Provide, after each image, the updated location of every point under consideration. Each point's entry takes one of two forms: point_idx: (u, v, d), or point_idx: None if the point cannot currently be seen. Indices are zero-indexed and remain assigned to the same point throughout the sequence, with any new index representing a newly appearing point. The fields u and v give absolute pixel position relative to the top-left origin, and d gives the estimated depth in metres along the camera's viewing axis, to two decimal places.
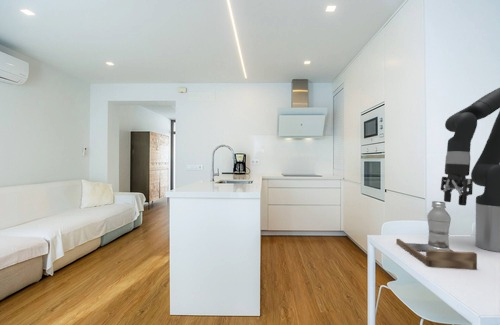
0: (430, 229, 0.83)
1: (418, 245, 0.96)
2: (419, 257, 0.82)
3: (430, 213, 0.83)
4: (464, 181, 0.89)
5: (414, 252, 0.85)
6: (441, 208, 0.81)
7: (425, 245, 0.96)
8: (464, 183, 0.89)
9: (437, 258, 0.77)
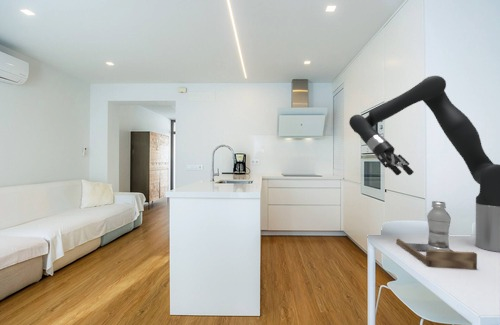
0: (430, 229, 0.83)
1: (418, 245, 0.96)
2: (419, 257, 0.82)
3: (430, 213, 0.83)
4: None
5: (414, 252, 0.85)
6: (441, 208, 0.81)
7: (425, 245, 0.96)
8: None
9: (437, 258, 0.77)
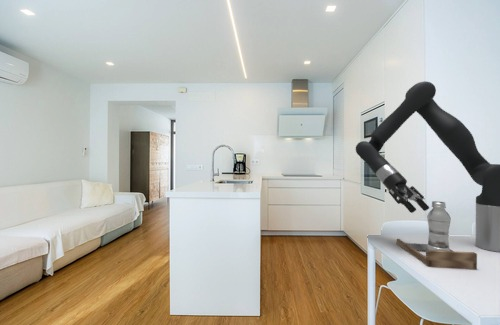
0: (430, 229, 0.83)
1: (418, 245, 0.96)
2: (419, 257, 0.82)
3: (430, 213, 0.83)
4: None
5: (414, 252, 0.85)
6: (441, 208, 0.81)
7: (425, 245, 0.96)
8: None
9: (437, 258, 0.77)
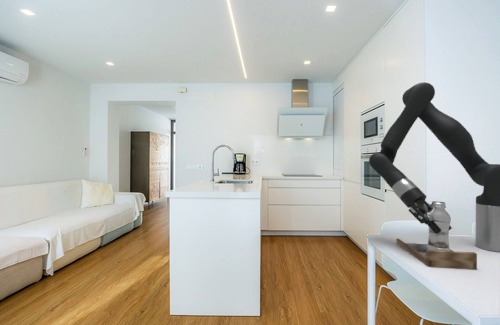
0: (430, 229, 0.83)
1: (418, 245, 0.96)
2: (419, 257, 0.82)
3: (430, 213, 0.83)
4: None
5: (414, 252, 0.85)
6: (441, 208, 0.81)
7: (425, 245, 0.96)
8: None
9: (437, 258, 0.77)
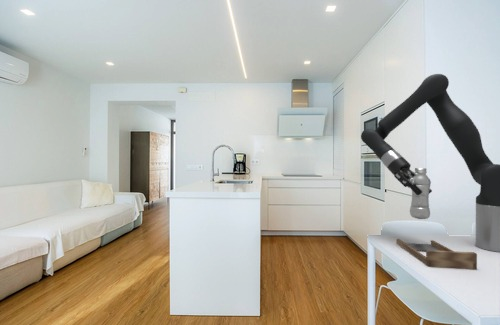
0: (413, 192, 0.94)
1: (418, 245, 0.96)
2: (419, 257, 0.82)
3: (413, 178, 0.94)
4: None
5: (414, 252, 0.85)
6: (422, 173, 0.92)
7: (425, 245, 0.96)
8: None
9: (437, 258, 0.77)
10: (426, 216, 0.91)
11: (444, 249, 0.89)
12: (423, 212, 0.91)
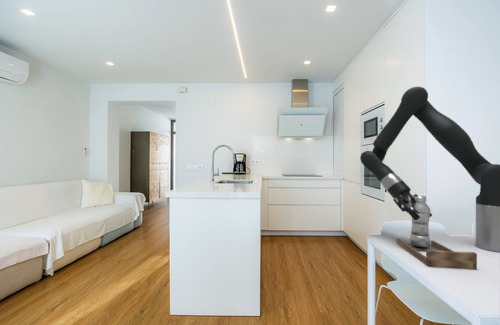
0: (413, 220, 0.94)
1: None
2: (419, 257, 0.82)
3: (413, 206, 0.95)
4: None
5: (414, 252, 0.85)
6: (422, 201, 0.93)
7: None
8: None
9: (437, 258, 0.77)
10: (426, 245, 0.91)
11: (444, 249, 0.89)
12: (423, 241, 0.91)
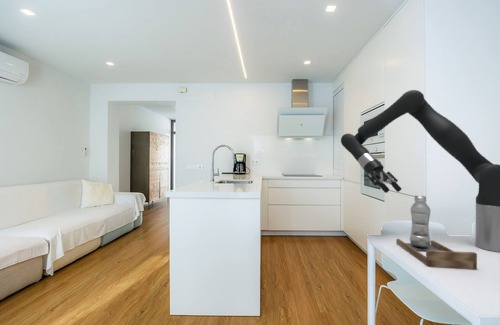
0: (413, 220, 0.94)
1: None
2: (419, 257, 0.82)
3: (413, 206, 0.95)
4: None
5: (414, 252, 0.85)
6: (422, 201, 0.93)
7: None
8: None
9: (437, 258, 0.77)
10: (426, 245, 0.91)
11: (444, 249, 0.89)
12: (423, 241, 0.91)
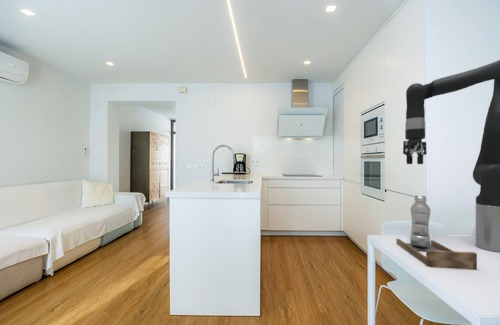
0: (413, 220, 0.94)
1: None
2: (419, 257, 0.82)
3: (413, 206, 0.95)
4: None
5: (414, 252, 0.85)
6: (422, 201, 0.93)
7: None
8: None
9: (437, 258, 0.77)
10: (426, 245, 0.91)
11: (444, 249, 0.89)
12: (423, 241, 0.91)
